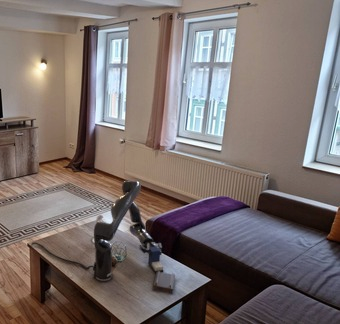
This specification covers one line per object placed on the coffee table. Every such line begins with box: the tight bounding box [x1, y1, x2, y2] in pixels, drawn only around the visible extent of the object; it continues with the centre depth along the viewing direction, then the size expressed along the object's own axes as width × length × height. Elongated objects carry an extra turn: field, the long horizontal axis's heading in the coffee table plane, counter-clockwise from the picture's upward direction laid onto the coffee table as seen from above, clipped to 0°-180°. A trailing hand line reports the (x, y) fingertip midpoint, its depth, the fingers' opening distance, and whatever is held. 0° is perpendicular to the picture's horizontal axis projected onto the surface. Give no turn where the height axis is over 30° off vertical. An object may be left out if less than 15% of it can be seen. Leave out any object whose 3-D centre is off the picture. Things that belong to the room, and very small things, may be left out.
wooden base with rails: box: [152, 271, 176, 294], centre depth 181 cm, size 10×13×4 cm
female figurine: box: [88, 213, 104, 244], centre depth 222 cm, size 11×16×20 cm
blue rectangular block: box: [147, 246, 164, 275], centre depth 194 cm, size 11×5×11 cm, turn 11°
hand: (156, 254), depth 193 cm, fingers closed on blue rectangular block, 5 cm apart
